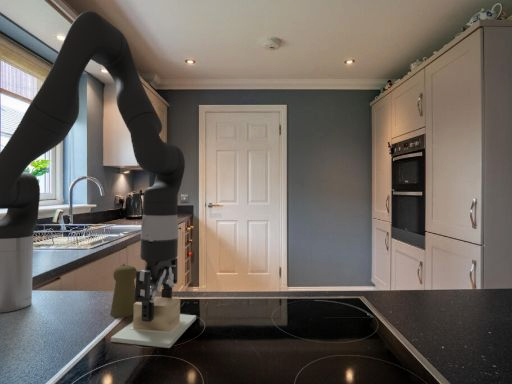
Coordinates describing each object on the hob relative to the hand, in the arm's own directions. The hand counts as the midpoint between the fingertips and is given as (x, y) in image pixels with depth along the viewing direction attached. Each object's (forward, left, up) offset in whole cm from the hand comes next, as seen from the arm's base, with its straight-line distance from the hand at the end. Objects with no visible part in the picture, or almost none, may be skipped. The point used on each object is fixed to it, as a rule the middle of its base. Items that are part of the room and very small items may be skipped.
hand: (157, 312), depth 66 cm
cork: (-12, +7, -4) cm, 14 cm away
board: (0, 0, -3) cm, 3 cm away
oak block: (0, 0, -3) cm, 3 cm away
